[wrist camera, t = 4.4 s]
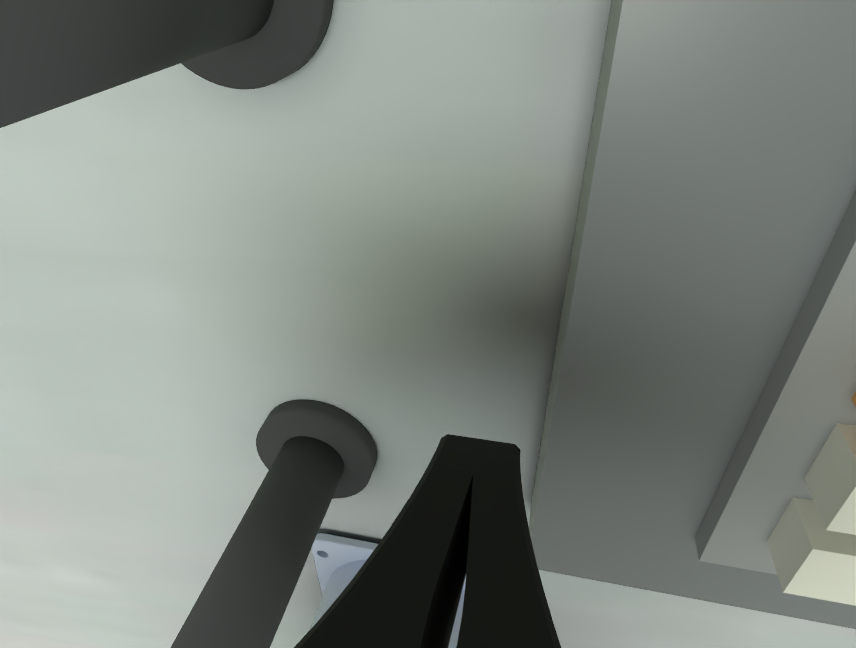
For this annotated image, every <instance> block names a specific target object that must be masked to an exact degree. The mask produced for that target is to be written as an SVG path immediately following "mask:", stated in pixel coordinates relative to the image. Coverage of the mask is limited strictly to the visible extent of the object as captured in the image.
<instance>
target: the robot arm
mask: <svg viewBox="0 0 856 648" xmlns="http://www.w3.org/2000/svg"><path fill="white" fill-rule="evenodd" d="M312 552H313V556H314V561H315V565H316V570H317V574H318V579H319V583H320V587H321V592H322V596H323V597H322V599H321V602H320V605H319V607H318V610H317V613H316V615H315V618H314V621H313V623H312V626H311V629H310V631H309V632H308V633H307V634H306V635H305V636H304V637H303V638H302V640H301V641H300V642H299V643H298V644H297V645H296V646H295V647H294V648H561V646H560V643H559V640H558V637H557V633H556V630H555V627H554V624H553V621H552V617H551V614H550V610H549V607H548V603H547V600H546V597H545V593H544V590H543V586H542V582H541V578H540V575H539V571H538V567H537V562H536V558H535V554H534V550H533V545H532V541H531V537H530V532H529V527H528V522H527V517H526V511H525V505H524V499H523V492H522V484H521V473H520V449H519V448H518V447H517V446H516V445H515V444H510V443H503V442H497V441H490V440H483V439H476V438H469V437H463V436H456V435H449V434H448V435H446V436H444V437H442V438H441V440H440V443H439V445H438V447H437V450H436V452H435V454H434V456H433V458H432V460H431V462H430V463H429V465H428V467H427V469H426V471H425V473H424V474H423V476H422V478H421V480H420V481H419V483H418V485H417V486H416V488H415V490H414V491H413V493H412V495H411V496H410V498H409V499H408V501H407V503H406V504H405V506H404V507H403V509H402V510H401V512H400V513H399V515H398V516H397V518H396V519H395V521H394V522H393V524H392V525H391V527H390V529H389V530H388V531H387V533H386V534H385V536H384V537H383V539H382V540H381V541H380V543H379V544H377V543H372V542H366V541H361V540H356V539H351V538H345V537H340V536H335V535H329V534H324V533H318V534H317V536H316V538H315V540H314V543H313V545H312Z"/></svg>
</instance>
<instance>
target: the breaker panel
mask: <svg viewBox="0 0 856 648" xmlns="http://www.w3.org/2000/svg"><path fill="white" fill-rule="evenodd" d="M529 532H530V537H531V541H532V545H533V550H534V554H535V558H536V562H537V567H538V569H539V570H544V571H549V572H555V573H560V574H565V575H571V576H576V577H581V578H587V579H592V580H597V581H603V582H608V583H613V584H619V585H624V586H629V587H634V588H640V589H645V590H650V591H656V592H661V593H666V594H672V595H677V596H682V597H688V598H693V599H698V600H704V601H709V602H714V603H720V604H725V605H730V606H736V607H741V608H746V609H752V610H757V611H762V612H768V613H773V614H778V615H784V616H789V617H794V618H800V619H805V620H810V621H816V622H821V623H826V624H832V625H837V626H842V627H848V628H853V629H856V0H612V1H611V8H610V14H609V20H608V26H607V33H606V39H605V45H604V51H603V58H602V64H601V70H600V76H599V83H598V89H597V95H596V101H595V108H594V114H593V120H592V126H591V133H590V139H589V145H588V151H587V158H586V164H585V170H584V176H583V183H582V189H581V195H580V201H579V208H578V214H577V220H576V226H575V233H574V239H573V245H572V251H571V258H570V264H569V270H568V276H567V283H566V289H565V295H564V301H563V307H562V314H561V320H560V326H559V332H558V339H557V345H556V351H555V357H554V364H553V370H552V376H551V382H550V389H549V395H548V401H547V407H546V414H545V420H544V426H543V432H542V439H541V445H540V451H539V457H538V464H537V470H536V476H535V482H534V489H533V495H532V501H531V511H530V524H529Z"/></svg>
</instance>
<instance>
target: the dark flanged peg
mask: <svg viewBox="0 0 856 648" xmlns="http://www.w3.org/2000/svg"><path fill="white" fill-rule="evenodd" d="M332 8H333V0H0V128H2V127H4V126H7V125H10V124H13V123H15V122H18V121H21V120H24V119H27V118H29V117H32V116H35V115H38V114H40V113H43V112H46V111H49V110H52V109H54V108H57V107H60V106H63V105H65V104H68V103H71V102H74V101H76V100H79V99H82V98H85V97H88V96H90V95H93V94H96V93H99V92H101V91H104V90H107V89H110V88H113V87H115V86H118V85H121V84H124V83H126V82H129V81H132V80H135V79H138V78H140V77H143V76H146V75H149V74H151V73H154V72H157V71H160V70H163V69H165V68H168V67H171V66H174V65H176V64H179V63H181V64H183V65H184V66H185V67H186V68H188V69H189V70H191V71H192V72H194V73H195V74H197V75H198V76H200V77H202V78H204V79H206V80H208V81H210V82H213V83H215V84H218V85H221V86H225V87H229V88H235V89H255V88H260V87H265V86H268V85H270V84H273V83H275V82H277V81H279V80H281V79H283V78H285V77H286V76H288V75H290V74H292V73H293V72H295V71H297V70H298V69H300V68H301V67H302V66H303V65H305V64H306V63H307V62H308V61H309V60H310V59H311V57H312V56H313V55H314V54H315V52H316V51H317V49H318V48H319V46H320V45H321V43H322V41H323V39H324V36H325V34H326V32H327V29H328V26H329V22H330V19H331V14H332Z"/></svg>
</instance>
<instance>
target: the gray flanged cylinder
mask: <svg viewBox="0 0 856 648" xmlns="http://www.w3.org/2000/svg"><path fill="white" fill-rule="evenodd" d="M256 446H257V451H258V454H259V456H260V458H261V460H262V462H263V463H264V464H265V466H266V467H267V468H268V469H269V471H268V473H267V475H266V477H265V479H264V480H263V482H262V484H261V486H260V488H259V489H258V491H257V493H256V495H255V497H254V498H253V500H252V502H251V504H250V506H249V507H248V509H247V511H246V513H245V515H244V516H243V518H242V520H241V522H240V524H239V525H238V527H237V529H236V531H235V533H234V534H233V536H232V538H231V540H230V542H229V543H228V545H227V547H226V549H225V551H224V552H223V554H222V556H221V558H220V560H219V561H218V563H217V565H216V567H215V569H214V570H213V572H212V574H211V576H210V578H209V579H208V581H207V583H206V585H205V587H204V588H203V590H202V592H201V594H200V596H199V597H198V599H197V601H196V603H195V605H194V606H193V608H192V610H191V612H190V614H189V616H188V617H187V619H186V621H185V623H184V625H183V626H182V628H181V630H180V632H179V634H178V635H177V637H176V639H175V641H174V643H173V644H172V646H171V648H270V646H271V643H272V641H273V638H274V636H275V634H276V631H277V629H278V626H279V624H280V622H281V619H282V617H283V615H284V612H285V610H286V607H287V605H288V603H289V600H290V598H291V595H292V593H293V591H294V588H295V586H296V583H297V581H298V579H299V576H300V574H301V572H302V569H303V567H304V564H305V562H306V560H307V557H308V555H309V552H310V550H311V548H312V545H313V543H314V540H315V538H316V536H317V533H318V531H319V528H320V526H321V524H322V521H323V519H324V517H325V514H326V512H327V509H328V507H329V505H330V502H331V500H332V498H345V497H349V496H352V495H355V494H357V493H358V492H360V491H362V490H363V489H364V488H365V487H366V485H367V484H368V482H369V479H370V477H371V474H372V471H373V469H374V466H375V463H376V459H377V450H376V446H375V443H374V440H373V439H372V437H371V435H370V434H369V432H368V431H367V429H366V428H365V427H364V426H363V425H362V424H361V423H360V422H359V421H358V420H356V419H355V418H354V417H352V416H351V415H350V414H348V413H346V412H345V411H343V410H341V409H339V408H337V407H334V406H332V405H329V404H326V403H323V402H318V401H313V400H293V401H288V402H285V403H283V404H280V405H279V406H277V407H275V408H274V409H273V410H272V411H271V413H270V414H269V415H268V417H267V419H266V420H265V422H264V424H263V425H262V427H261V428H260V430H259V432H258V434H257V439H256Z"/></svg>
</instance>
